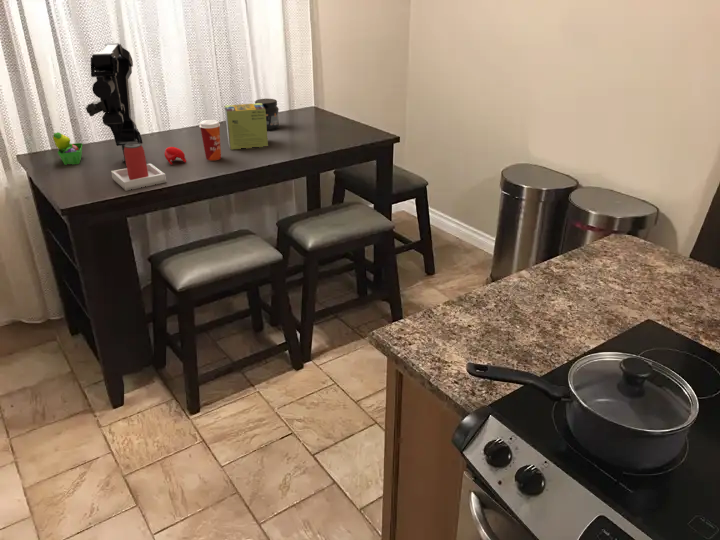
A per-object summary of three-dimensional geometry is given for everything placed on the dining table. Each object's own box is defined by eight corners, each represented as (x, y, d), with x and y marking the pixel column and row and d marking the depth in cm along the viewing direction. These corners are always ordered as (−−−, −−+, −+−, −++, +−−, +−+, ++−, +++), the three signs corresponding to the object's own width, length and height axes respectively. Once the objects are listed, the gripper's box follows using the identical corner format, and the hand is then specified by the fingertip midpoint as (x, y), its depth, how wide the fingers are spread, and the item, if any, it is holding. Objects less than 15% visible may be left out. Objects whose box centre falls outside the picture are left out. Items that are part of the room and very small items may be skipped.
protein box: (268, 146, 247) (265, 108, 239) (230, 150, 243) (226, 111, 235) (264, 139, 255) (261, 102, 248) (227, 142, 251) (223, 105, 244)
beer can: (141, 173, 215) (135, 140, 209) (152, 177, 211) (146, 144, 206) (125, 178, 211) (118, 145, 205) (136, 183, 207) (129, 148, 201)
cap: (161, 157, 223) (174, 149, 222) (161, 148, 227) (174, 140, 226) (176, 171, 229) (189, 163, 228) (176, 161, 233) (188, 153, 232)
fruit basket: (82, 164, 226) (75, 135, 221) (56, 166, 224) (49, 136, 219) (85, 155, 236) (79, 126, 231) (61, 157, 234) (54, 128, 228)
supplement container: (251, 127, 272) (249, 100, 267) (272, 123, 278) (270, 97, 272) (263, 132, 265) (261, 104, 259) (284, 128, 270) (282, 101, 265)
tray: (112, 179, 213) (111, 171, 211) (151, 171, 220) (150, 163, 218) (125, 190, 203) (124, 182, 201) (166, 182, 210) (165, 173, 209)
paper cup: (216, 162, 229) (212, 125, 222) (199, 160, 231) (194, 123, 225) (227, 156, 235) (223, 120, 229) (210, 154, 238) (206, 118, 231)
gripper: (86, 87, 211) (95, 132, 218) (81, 99, 195) (91, 147, 202) (120, 85, 213) (128, 129, 221) (118, 97, 198) (126, 144, 205)
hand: (118, 137), depth 212 cm, fingers open, 9 cm apart
